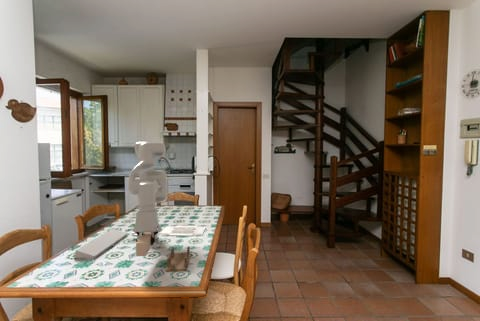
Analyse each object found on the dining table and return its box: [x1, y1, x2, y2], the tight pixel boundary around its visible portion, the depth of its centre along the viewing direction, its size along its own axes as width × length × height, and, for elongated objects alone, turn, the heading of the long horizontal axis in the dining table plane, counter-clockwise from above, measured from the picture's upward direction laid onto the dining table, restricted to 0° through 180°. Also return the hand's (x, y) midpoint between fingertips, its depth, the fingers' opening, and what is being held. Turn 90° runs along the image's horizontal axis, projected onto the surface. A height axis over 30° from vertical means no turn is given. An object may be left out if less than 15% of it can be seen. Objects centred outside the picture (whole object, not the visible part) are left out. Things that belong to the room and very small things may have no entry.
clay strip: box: [135, 229, 158, 257], centre depth 123 cm, size 4×22×6 cm, turn 6°
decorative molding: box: [73, 228, 128, 260], centre depth 144 cm, size 34×5×10 cm
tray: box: [159, 222, 207, 237], centre depth 171 cm, size 20×28×4 cm
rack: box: [165, 246, 191, 272], centre depth 124 cm, size 9×18×5 cm, turn 6°
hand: (147, 243), depth 123 cm, fingers closed on clay strip, 4 cm apart
